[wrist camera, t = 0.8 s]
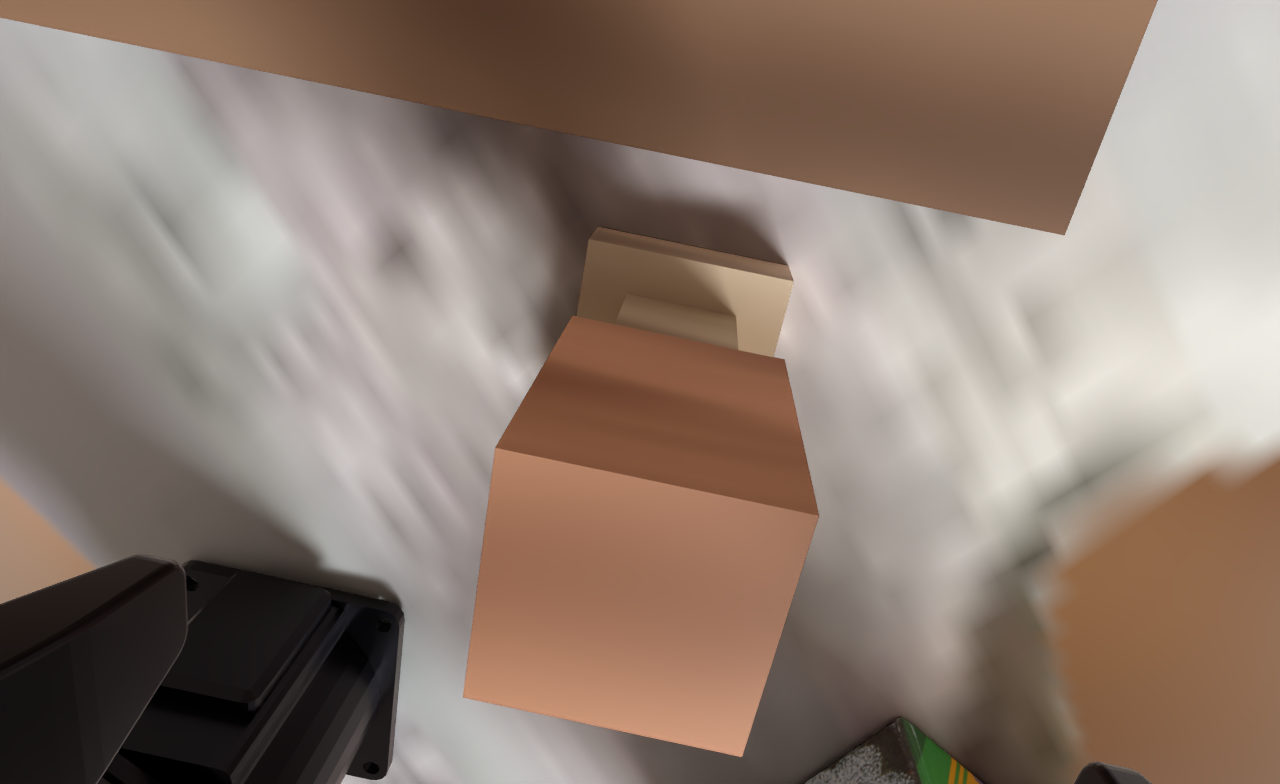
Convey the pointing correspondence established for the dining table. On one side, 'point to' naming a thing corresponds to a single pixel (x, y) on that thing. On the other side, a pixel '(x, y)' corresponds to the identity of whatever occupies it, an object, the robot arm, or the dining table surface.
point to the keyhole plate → (716, 78)
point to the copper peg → (648, 503)
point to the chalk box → (896, 761)
